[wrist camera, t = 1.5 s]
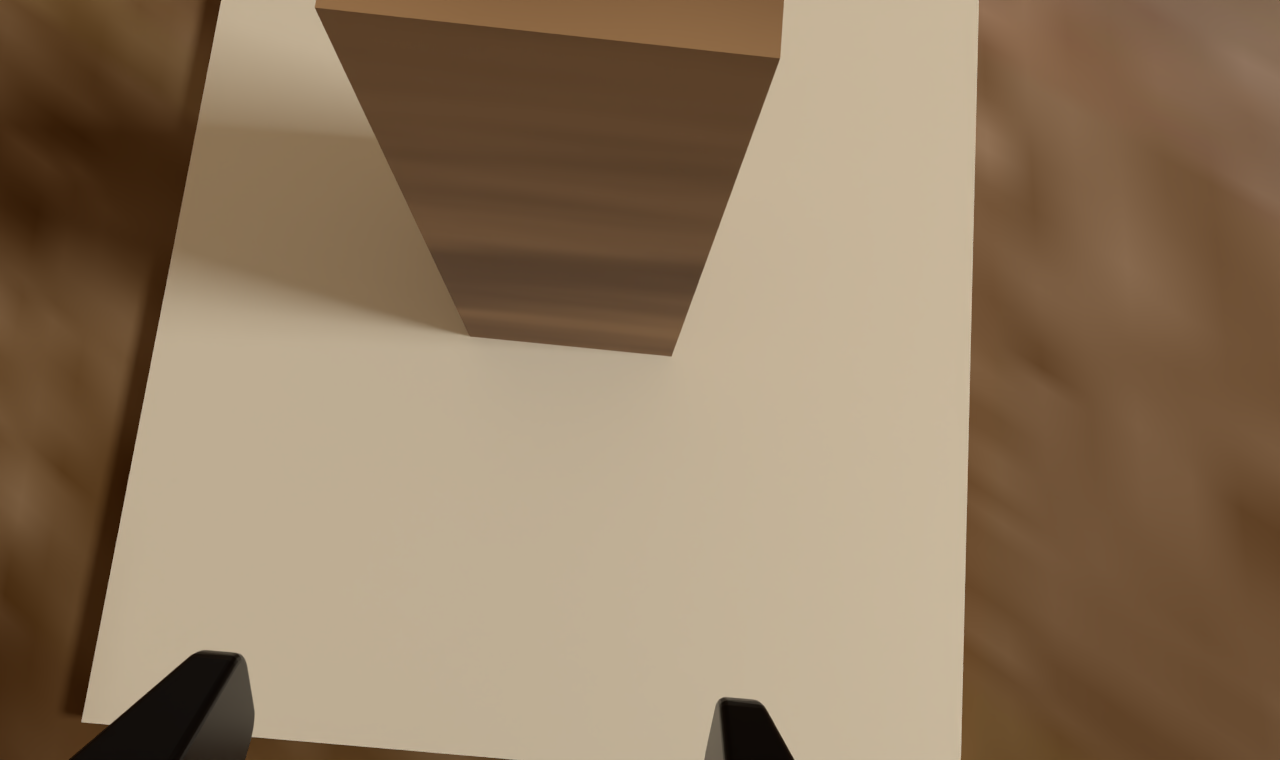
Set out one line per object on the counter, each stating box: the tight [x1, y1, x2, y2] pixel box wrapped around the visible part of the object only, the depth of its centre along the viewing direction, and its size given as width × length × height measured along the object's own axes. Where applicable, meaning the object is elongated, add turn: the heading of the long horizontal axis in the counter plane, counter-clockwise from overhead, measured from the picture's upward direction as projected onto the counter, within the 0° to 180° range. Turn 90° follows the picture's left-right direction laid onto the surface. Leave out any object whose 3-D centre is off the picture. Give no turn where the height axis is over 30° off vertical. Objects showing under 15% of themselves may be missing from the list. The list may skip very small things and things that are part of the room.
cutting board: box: [81, 0, 979, 760], centre depth 23 cm, size 22×18×1 cm
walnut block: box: [315, 0, 784, 357], centre depth 17 cm, size 4×4×13 cm
